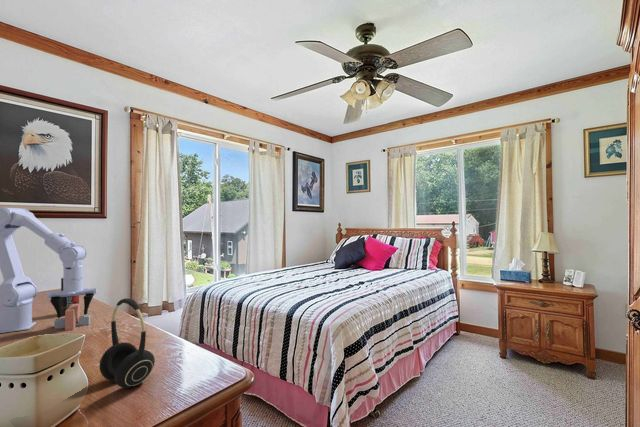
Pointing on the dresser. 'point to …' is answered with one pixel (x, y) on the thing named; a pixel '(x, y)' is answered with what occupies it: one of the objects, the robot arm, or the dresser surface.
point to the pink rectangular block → (72, 316)
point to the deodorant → (68, 300)
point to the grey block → (82, 321)
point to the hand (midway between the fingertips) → (72, 315)
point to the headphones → (126, 356)
